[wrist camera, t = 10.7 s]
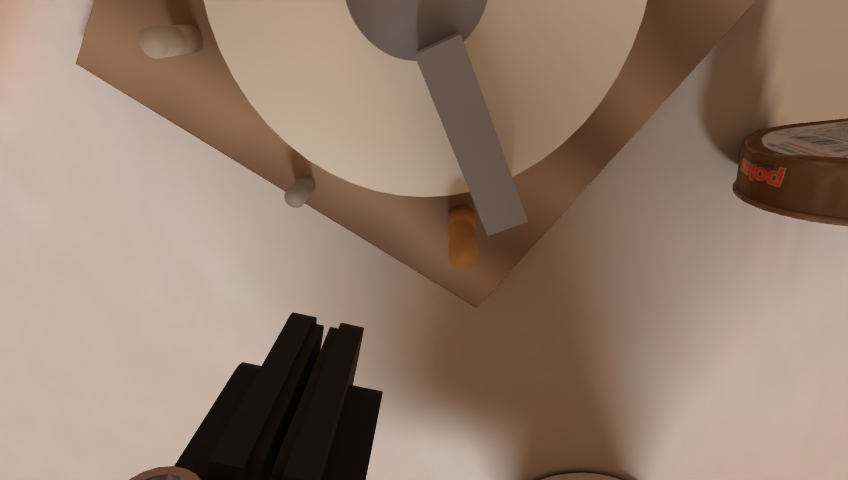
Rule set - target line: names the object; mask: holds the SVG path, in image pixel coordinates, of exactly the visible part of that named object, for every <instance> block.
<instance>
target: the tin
mask: <svg viewBox="0 0 848 480" xmlns="http://www.w3.org/2000/svg"><path fill="white" fill-rule="evenodd" d="M733 192H734V193H735V195H736V196H737V197H738V198H740V199H741V200H742V201H744V202H746V203H748V204H750V205H753V206H755V207H757V208H760V209H763V210H765V211H769V212H772V213H776V214H779V215H783V216H788V217H792V218H796V219H802V220H806V221H810V222H818V223H824V224H833V225H842V226H848V119H839V120H829V121H820V122H810V123H800V124H791V125H784V126H778V127H772V128H767V129H763V130H760V131H757V132H755V133H753V134H751V135H749V136H748V137H747V138H746V139H745V141H744V143H743V146H742V149H741V154H740V159H739V166H738V173H737V179H736V181H735V182H734V184H733Z"/></svg>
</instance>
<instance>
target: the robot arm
mask: <svg viewBox="0 0 848 480" xmlns="http://www.w3.org/2000/svg"><path fill="white" fill-rule="evenodd" d="M316 321H317V320H316V317H312V316H307V315H303V314H298V313H292V314H291V315H290V317H289V318H288V320H287V322H286V324H285V326H284V327H283V329H282V331H281V333H280V334H279V336H278V338H277V340H276V342H275V343H274V345H273V347H272V349H271V350H270V352H269V354H268V356H267V357H266V359H265V361H264V363H263V365H262V366H258V365H254V364H249V363H244V362H242V363H241V364H239V366H238V367H237V368H236V370H235V371H234V373H233V374H232V376H231V378H230V379H229V381H228V382H227V384H226V385H225V387H224V389H223V390H222V392H221V393H220V395H219V396H218V398H217V400H216V401H215V403H214V404H213V406H212V408H211V409H210V411H209V412H208V414H207V415H206V417H205V419H204V420H203V422H202V423H201V425H200V426H199V428H198V430H197V431H196V433H195V434H194V436H193V437H192V439H191V441H190V442H189V444H188V445H187V447H186V448H185V450H184V452H183V453H182V455H181V456H180V458H179V460H178V461H177V463H176V464H175V466H170V467H158V468H155V469H151V470H148V471H145V472H142V473H140V474H139V475H137V476H135V477H133V478H131V479H130V480H366V475H367V470H368V465H369V460H370V454H371V449H372V444H373V439H374V434H375V429H376V424H377V419H378V413H379V408H380V403H381V398H382V391H377V390H372V389H368V388H363V387H358V386H353V381H354V376H355V371H356V366H357V361H358V356H359V351H360V346H361V341H362V336H363V330H364V328H363V327H358V326H354V325H349V324H344V323H341V324H340V326H339V328H338V329H337V328H333V327H330V329H329V331H328V333H327V336H326V338H325V341H324V343H323V346H322V348H321V343H322V337H323V330H324V326H323V325H319V324H316ZM320 350H321V351H320ZM540 480H620V479H617V478H615V477H611V476H606V475H602V474H594V473H567V474H560V475H554V476H550V477H547V478H544V479H540Z"/></svg>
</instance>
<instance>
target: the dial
mask: <svg viewBox="0 0 848 480" xmlns="http://www.w3.org/2000/svg"><path fill="white" fill-rule="evenodd" d="M646 3H647V0H204V4H205V8H206V12H207V16H208V20H209V23H210V26H211V28H212V31H213V34H214V36H215V39H216V42H217V44H218V47H219V50H220V52H221V54H222V56H223V58H224V60H225V62H226V64H227V66H228V68H229V70H230V72H231V74H232V76H233V78H234V79H235V81H236V82H237V84H238V85H239V87H240V89H241V90H242V92H243V93H244V95H245V96H246V98H247V99H248V101H249V102H250V104H251V105H252V106H253V107H254V109H255V110H256V111H257V112H258V113H259V115H260V116H261V117H262V118H263V120H264V121H265V122H266V123H267V124H268V125H269V126H270V127H271V128H272V129H273V130H274V131H275V132H276V133H277V134H278V135H279V136H280V137H281V138H282V139H283V140H284V141H285V142H286V143H287V144H288V145H289V146H291V147H292V148H293V149H295V150H296V151H297V152H298V153H300V154H301V155H302V156H304V157H305V158H306V159H307V160H309V161H311V162H312V163H314V164H316V165H317V166H319V167H321V168H322V169H324V170H325V171H327V172H329V173H331V174H333V175H335V176H337V177H339V178H342V179H344V180H346V181H348V182H350V183H353V184H356V185H359V186H362V187H365V188H368V189H371V190H374V191H379V192H384V193H389V194H394V195H400V196H415V197H434V196H449V195H455V194H460V193H466V192H470V194H471V196H472V199H473V201H474V204H475V206H476V209H477V211H478V213H479V216H480V218H481V221H482V223H483V226H484V228H485V231H486V233H487V236H489V235H492V234H495V233H498V232H500V231H503V230H506V229H509V228H512V227H515V226H518V225H520V224H523V223H526V222H528V220H527V218H526V215H525V212H524V209H523V206H522V204H521V201H520V198H519V195H518V192H517V190H516V187H515V184H514V181H513V178H512V177H513V176H515V175H517V174H519V173H521V172H523V171H524V170H526V169H528V168H529V167H531V166H533V165H534V164H536V163H538V162H539V161H541V160H542V159H544V158H545V157H546V156H548V155H549V154H550V153H551V152H553V151H554V150H555V149H557V148H558V147H559V146H561V145H562V144H563V143H564V142H565V141H566V140H567V139H568V138H569V137H570V136H571V135H572V134H573V133H574V132H575V131H576V130H577V129H578V128H579V127H580V126H582V125H583V123H584V122H585V121H586V120H587V119H588V117H589V116H590V115H591V114H592V112H593V111H594V110H595V109H596V107H597V106H598V105H599V104H600V103H601V101H602V100H603V98H604V97H605V95H606V94H607V92H608V90H609V89H610V87H611V86H612V84H613V83H614V81H615V80H616V78H617V76H618V75H619V73H620V71H621V69H622V67H623V65H624V63H625V61H626V59H627V57H628V54H629V52H630V50H631V48H632V46H633V43H634V41H635V38H636V35H637V32H638V30H639V27H640V24H641V21H642V19H643V16H644V12H645V7H646Z"/></svg>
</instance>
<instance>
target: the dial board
mask: <svg viewBox="0 0 848 480" xmlns="http://www.w3.org/2000/svg"><path fill="white" fill-rule="evenodd" d="M755 1H756V0H647V3H646V7H645V12H644V16H643V19H642V21H641V24H640V27H639V30H638V32H637V35H636V38H635V41H634V43H633V46H632V48H631V50H630V52H629V54H628V57H627V59H626V61H625V63H624V65H623V67H622V69H621V71H620V73H619V75H618V76H617V78H616V80H615V81H614V83H613V84H612V86H611V87H610V89H609V90H608V92H607V94H606V95H605V97H604V98H603V100H602V101H601V103H600V104H599V105H598V106H597V107H596V109H595V110H594V111H593V112H592V114H591V115H590V116H589V117H588V119H587V120H586V121H585V122H584V123H583V125H582V126H580V127H579V128H578V129H577V130H576V131H575V132H574V133H573V134H572V135H571V136H570V137H569V138H568V139H567V140H566V141H565V142H564V143H563V144H562V145H561V146H559V147H558V148H557V149H555V150H554V151H553V152H551V153H550V154H549V155H548V156H546V157H545V158H544V159H542V160H541V161H539V162H538V163H536V164H534V165H533V166H531V167H529V168H528V169H526V170H524V171H523V172H521V173H519V174H517V175H515V176H513V177H512V178H513V181H514V184H515V187H516V190H517V192H518V195H519V198H520V201H521V204H522V206H523V209H524V212H525V215H526V218H527V220H528V222H526V223H523V224H520V225H518V226H515V227H512V228H509V229H506V230H503V231H500V232H498V233H495V234H492V235H489V236H487V233H486V231H485V228H484V226H483V223H482V221H481V218H480V216H479V213H478V211H477V209H476V206H475V204H474V201H473V199H472V196H471V194H470V192H466V193H460V194H455V195H449V196H434V197H415V196H400V195H394V194H389V193H384V192H379V191H374V190H371V189H368V188H365V187H362V186H359V185H356V184H353V183H350V182H348V181H346V180H344V179H342V178H339V177H337V176H335V175H333V174H331V173H329V172H327V171H325V170H324V169H322V168H321V167H319V166H317V165H316V164H314V163H312V162H311V161H309V160H307V159H306V158H305V157H304V156H302V155H301V154H300V153H298V152H297V151H296V150H295V149H293V148H292V147H291V146H289V145H288V144H287V143H286V142H285V141H284V140H283V139H282V138H281V137H280V136H279V135H278V134H277V133H276V132H275V131H274V130H273V129H272V128H271V127H270V126H269V125H268V124H267V123H266V122H265V121H264V120H263V118H262V117H261V116H260V115H259V113H258V112H257V111H256V110H255V109H254V107H253V106H252V105H251V104H250V102H249V101H248V99H247V98H246V96H245V95H244V93H243V92H242V90H241V89H240V87H239V85H238V84H237V82H236V81H235V79H234V78H233V76H232V74H231V72H230V70H229V68H228V66H227V64H226V62H225V60H224V58H223V56H222V54H221V52H220V50H219V47H218V44H217V42H216V39H215V36H214V34H213V31H212V28H211V26H210V23H209V20H208V16H207V12H206V8H205V4H204V0H95V1H94V5H93V8H92V11H91V15H90V18H89V21H88V25H87V28H86V31H85V35H84V38H83V41H82V44H81V48H80V51H79V54H78V58H77V61H76V64H77V65H79V66H81V67H82V68H84V69H85V70H87V71H89V72H90V73H92V74H94V75H95V76H97V77H99V78H100V79H102V80H104V81H105V82H107V83H108V84H110V85H112V86H113V87H115V88H117V89H118V90H120V91H122V92H123V93H125V94H126V95H128V96H130V97H131V98H133V99H135V100H136V101H138V102H140V103H141V104H143V105H145V106H146V107H148V108H149V109H151V110H153V111H154V112H156V113H158V114H159V115H161V116H163V117H164V118H166V119H167V120H169V121H171V122H172V123H174V124H176V125H177V126H179V127H181V128H182V129H184V130H186V131H187V132H189V133H190V134H192V135H194V136H195V137H197V138H199V139H200V140H202V141H204V142H205V143H207V144H209V145H210V146H212V147H213V148H215V149H217V150H218V151H220V152H222V153H223V154H225V155H227V156H228V157H230V158H231V159H233V160H235V161H236V162H238V163H240V164H241V165H243V166H245V167H246V168H248V169H250V170H251V171H253V172H254V173H256V174H258V175H259V176H261V177H263V178H264V179H266V180H268V181H269V182H271V183H272V184H274V185H276V186H277V187H279V188H281V189H282V190H284V191H286V193H285V201H286V202H287V204H288V205H290V206H291V207H295V208H298V207H301V206H302V205H303V204H304V203H305V204H307V205H309V206H310V207H312V208H314V209H315V210H317V211H318V212H320V213H322V214H323V215H325V216H327V217H328V218H330V219H332V220H333V221H335V222H336V223H338V224H340V225H341V226H343V227H345V228H346V229H348V230H350V231H351V232H353V233H355V234H356V235H358V236H359V237H361V238H363V239H364V240H366V241H368V242H369V243H371V244H373V245H374V246H376V247H377V248H379V249H381V250H382V251H384V252H386V253H387V254H389V255H391V256H392V257H394V258H396V259H397V260H399V261H400V262H402V263H404V264H405V265H407V266H409V267H410V268H412V269H414V270H415V271H417V272H418V273H420V274H422V275H423V276H425V277H427V278H428V279H430V280H432V281H433V282H435V283H437V284H438V285H440V286H441V287H443V288H445V289H446V290H448V291H450V292H451V293H453V294H455V295H456V296H458V297H460V298H461V299H463V300H464V301H466V302H468V303H469V304H471V305H473V306H474V307H476V308H477V307H478V306H479V305H480V304H481V303H482V302H483V300H484V299H485V298H486V297H487V296H488V295H489V294H490V293H491V292H492V291H493V289H494V288H495V287H496V286H497V285H498V284H499V283H500V282H501V281H502V279H503V278H504V277H505V276H506V275H507V274H508V273H509V272H510V271H511V270H512V268H513V267H514V266H515V265H516V264H517V263H518V262H519V261H520V260H521V259H522V257H523V256H524V255H525V254H526V253H527V252H528V251H529V250H530V249H531V248H532V246H533V245H534V244H535V243H536V242H537V241H538V240H539V239H540V238H541V237H542V235H543V234H544V233H545V232H546V231H547V230H548V229H549V228H550V227H551V226H552V224H553V223H554V222H555V221H556V220H557V219H558V218H559V217H560V216H561V214H562V213H563V212H564V211H565V210H566V209H567V208H568V207H569V206H570V205H571V203H572V202H573V201H574V200H575V199H576V198H577V197H578V196H579V195H580V194H581V192H582V191H583V190H584V189H585V188H586V187H587V186H588V185H589V184H590V183H591V181H592V180H593V179H594V178H595V177H596V176H597V175H598V174H599V173H600V172H601V170H602V169H603V168H604V167H605V166H606V165H607V164H608V163H609V162H610V161H611V159H612V158H613V157H614V156H615V155H616V154H617V153H618V152H619V151H620V149H621V148H622V147H623V146H624V145H625V144H626V143H627V142H628V141H629V140H630V138H631V137H632V136H633V135H634V134H635V133H636V132H637V131H638V130H639V129H640V127H641V126H642V125H643V124H644V123H645V122H646V121H647V120H648V119H649V118H650V116H651V115H652V114H653V113H654V112H655V111H656V110H657V109H658V108H659V107H660V105H661V104H662V103H663V102H664V101H665V100H666V99H667V98H668V97H669V96H670V94H671V93H672V92H673V91H674V90H675V89H676V88H677V87H678V86H679V85H680V83H681V82H682V81H683V80H684V79H685V78H686V77H687V76H688V75H689V73H690V72H691V71H692V70H693V69H694V68H695V67H696V66H697V65H698V64H699V62H700V61H701V60H702V59H703V58H704V57H705V56H706V55H707V54H708V53H709V51H710V50H711V49H712V48H713V47H714V46H715V45H716V44H717V43H718V42H719V40H720V39H721V38H722V37H723V36H724V35H725V34H726V33H727V32H728V31H729V29H730V28H731V27H732V26H733V25H734V24H735V23H736V22H737V21H738V20H739V18H740V17H741V16H742V15H743V14H744V13H745V12H746V11H747V10H748V8H749V7H750V6H751V5H752V4H753V3H754V2H755Z"/></svg>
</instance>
